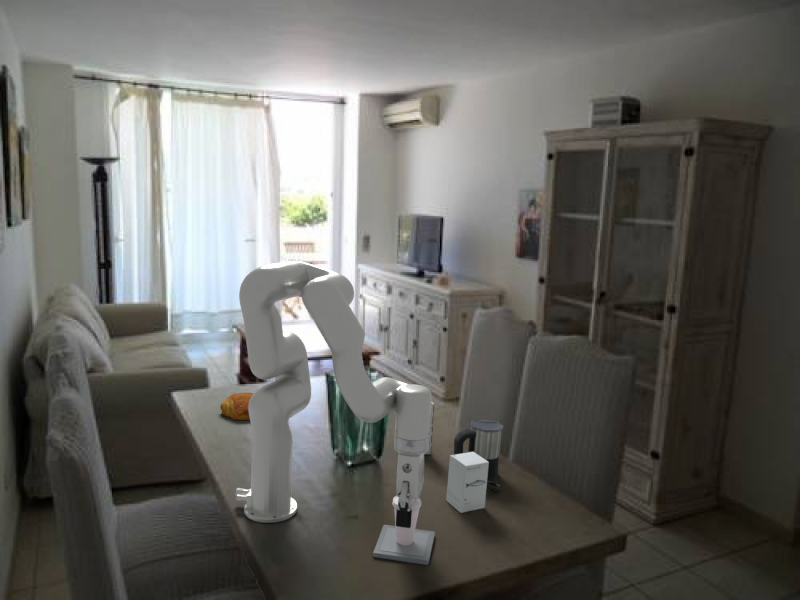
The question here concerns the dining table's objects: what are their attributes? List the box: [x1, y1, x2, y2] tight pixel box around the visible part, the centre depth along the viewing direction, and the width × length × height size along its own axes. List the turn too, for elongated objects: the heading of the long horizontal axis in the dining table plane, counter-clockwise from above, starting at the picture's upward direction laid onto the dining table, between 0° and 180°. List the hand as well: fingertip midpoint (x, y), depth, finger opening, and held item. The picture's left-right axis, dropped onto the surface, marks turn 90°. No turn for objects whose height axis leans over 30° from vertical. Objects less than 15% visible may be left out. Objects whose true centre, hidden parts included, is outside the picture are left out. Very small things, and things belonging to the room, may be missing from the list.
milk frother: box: [453, 418, 504, 492], centre depth 175 cm, size 14×16×15 cm
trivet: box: [372, 524, 436, 566], centre depth 141 cm, size 12×12×1 cm
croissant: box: [219, 392, 255, 421], centre depth 216 cm, size 14×16×8 cm
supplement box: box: [445, 451, 489, 514], centre depth 161 cm, size 7×7×13 cm
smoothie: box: [392, 494, 422, 545], centre depth 140 cm, size 6×6×14 cm
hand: (406, 515), depth 140 cm, fingers open, 9 cm apart
